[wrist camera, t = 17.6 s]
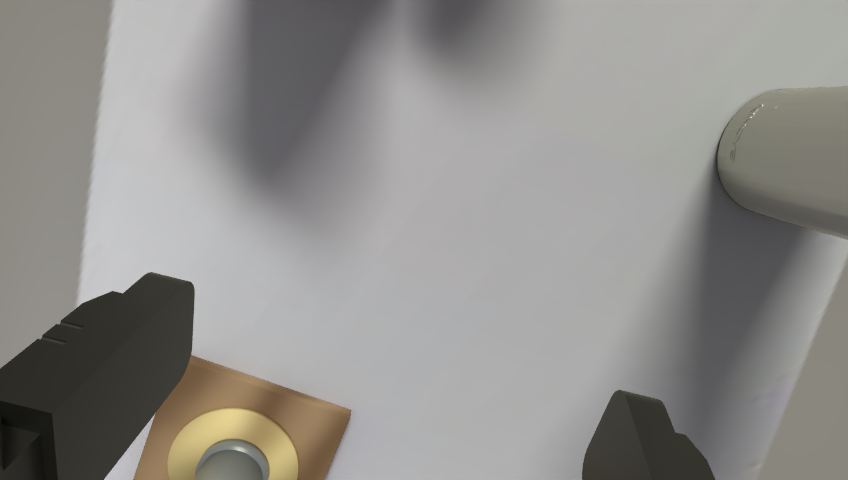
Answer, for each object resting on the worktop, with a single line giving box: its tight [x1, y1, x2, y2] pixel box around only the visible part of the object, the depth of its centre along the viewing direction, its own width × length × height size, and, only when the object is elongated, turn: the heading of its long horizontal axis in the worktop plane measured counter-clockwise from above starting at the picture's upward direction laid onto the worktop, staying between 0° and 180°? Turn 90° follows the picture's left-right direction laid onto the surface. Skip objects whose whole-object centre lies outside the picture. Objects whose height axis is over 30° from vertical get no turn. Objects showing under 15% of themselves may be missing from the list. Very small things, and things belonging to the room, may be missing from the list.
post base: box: [133, 355, 351, 480], centre depth 45 cm, size 14×14×2 cm
